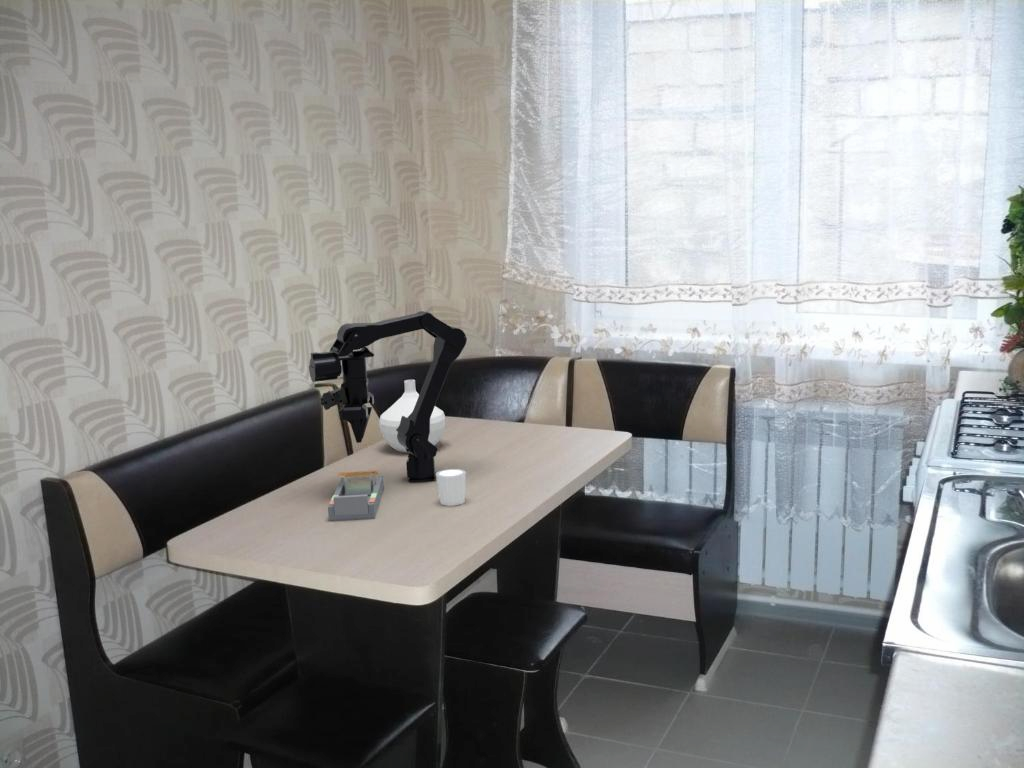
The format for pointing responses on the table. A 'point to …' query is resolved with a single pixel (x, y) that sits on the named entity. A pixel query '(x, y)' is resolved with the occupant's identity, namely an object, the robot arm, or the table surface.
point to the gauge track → (355, 503)
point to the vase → (405, 408)
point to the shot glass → (451, 486)
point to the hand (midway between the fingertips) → (359, 440)
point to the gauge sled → (358, 482)
